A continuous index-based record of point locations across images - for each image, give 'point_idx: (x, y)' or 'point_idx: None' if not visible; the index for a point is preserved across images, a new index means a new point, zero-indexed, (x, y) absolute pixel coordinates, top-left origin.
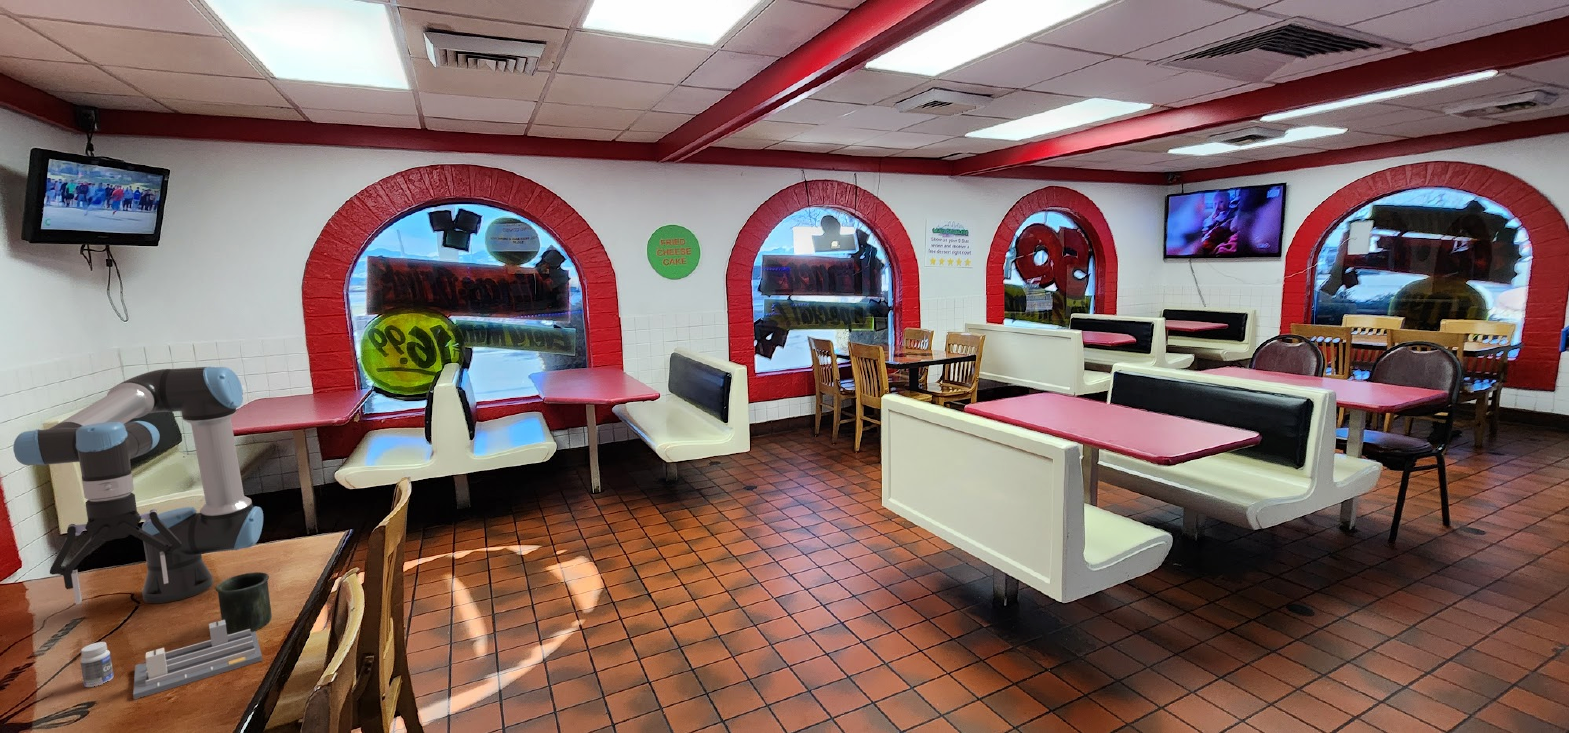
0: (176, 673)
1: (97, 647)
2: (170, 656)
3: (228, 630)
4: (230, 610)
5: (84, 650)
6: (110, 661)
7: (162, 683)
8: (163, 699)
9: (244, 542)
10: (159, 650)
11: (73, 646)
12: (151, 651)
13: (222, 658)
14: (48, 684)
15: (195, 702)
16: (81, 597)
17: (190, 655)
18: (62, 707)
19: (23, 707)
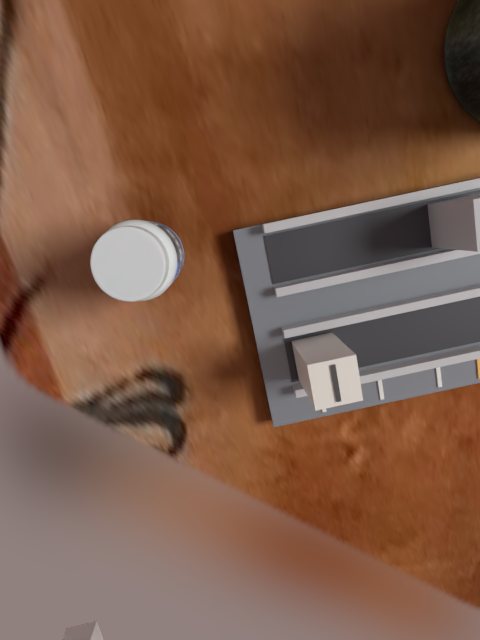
0: (363, 383)
1: (146, 285)
2: (322, 227)
3: (469, 104)
4: None
5: (106, 287)
6: (179, 261)
7: None
8: (337, 451)
9: None
10: (346, 372)
11: None
12: (322, 365)
13: (471, 358)
14: (9, 190)
15: (407, 502)
16: (93, 635)
17: (382, 274)
18: (110, 369)
19: (6, 315)
